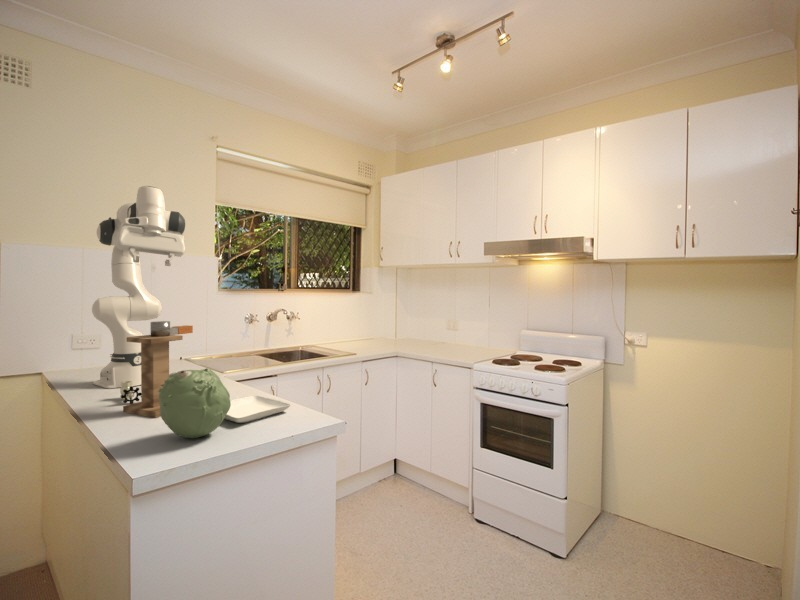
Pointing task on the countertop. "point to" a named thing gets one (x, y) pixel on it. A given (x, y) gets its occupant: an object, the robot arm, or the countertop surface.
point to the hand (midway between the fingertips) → (152, 263)
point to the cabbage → (193, 402)
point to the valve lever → (168, 329)
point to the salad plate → (254, 408)
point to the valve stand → (151, 373)
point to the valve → (128, 392)
